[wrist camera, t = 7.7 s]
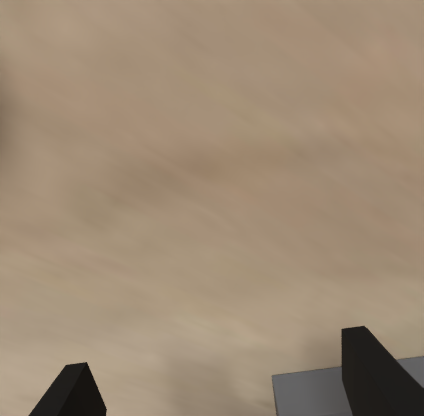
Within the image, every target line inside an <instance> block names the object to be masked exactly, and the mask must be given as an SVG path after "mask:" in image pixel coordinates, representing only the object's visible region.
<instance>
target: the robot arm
mask: <svg viewBox="0 0 424 416" xmlns="http://www.w3.org/2000/svg"><path fill="white" fill-rule="evenodd" d="M342 382H343V385H344V389H345V392H346V395H347V399H348V402H349V405H350V408H351V411H352V415H353V416H424V388H423V387H422V386H421V385H420V384H419V383H418V382H417V381H416V380H415V379H414V378H413V377H412V376H411V375H410V374H409V373H408V372H407V371H406V370H405V369H404V368H403V367H402V366H401V365H400V364H399V363H398V362H397V361H396V360H395V359H394V357H393V356H392V355H391V354H390V353H389V352H388V351H387V350H386V349H385V348H384V347H383V346H382V344H381V343H380V342H379V341H378V340H377V339H376V338H375V336H374V335H373V334H372V333H371V332H370V331H369V330H368V329H367V328H366V327H365V326H360V327H352V328H345V329H342ZM106 411H107V409H106V406H105V404H104V402H103V399H102V397H101V394H100V392H99V390H98V387H97V385H96V383H95V380H94V378H93V376H92V373H91V371H90V368H89V366H88V364H87V362H85V363H77V364H70V365H66V366H65V367H64V368H63V370H62V371H61V372H60V374H59V375H58V376H57V378H56V379H55V380H54V382H53V383H52V384H51V386H50V387H49V389H48V390H47V391H46V393H45V394H44V395H43V397H42V398H41V400H40V401H39V402H38V404H37V405H36V406H35V408H34V409H33V410H32V412H31V413H30V414H29V416H106Z"/></svg>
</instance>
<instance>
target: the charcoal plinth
mask: <svg viewBox="0 0 424 416" xmlns="http://www.w3.org/2000/svg"><path fill="white" fill-rule="evenodd" d="M396 361H397V362H398V363H399V364H400V365H401V366H402V367H403V368H404V369H405V370H406V371H407V372H408V373H409V374H410V375H411V376H412V377H413V378H414V379H415V380H416V381H417V382H418V383H419V384H420V385H421V386H422V387H423V388H424V356H423V357H415V358H408V359H400V360H396ZM272 382H273V391H274V399H275V407H276V415H277V416H353V415H352V411H351V408H350V405H349V402H348V399H347V395H346V392H345V389H344V385H343V382H342V367H336V368H328V369H320V370H312V371H305V372H297V373H289V374H281V375H273V376H272Z"/></svg>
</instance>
